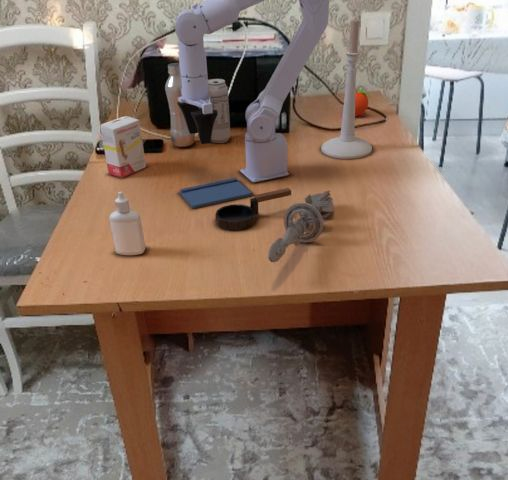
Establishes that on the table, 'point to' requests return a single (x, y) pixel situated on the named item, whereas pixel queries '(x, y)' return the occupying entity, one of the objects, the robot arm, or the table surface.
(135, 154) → the ink box
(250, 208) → the pan
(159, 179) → the table surface
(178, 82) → the plastic bottle
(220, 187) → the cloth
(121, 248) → the eye dropper bottle
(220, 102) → the energy drink can
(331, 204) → the spaceship
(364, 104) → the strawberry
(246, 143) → the robot arm
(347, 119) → the candlestick
